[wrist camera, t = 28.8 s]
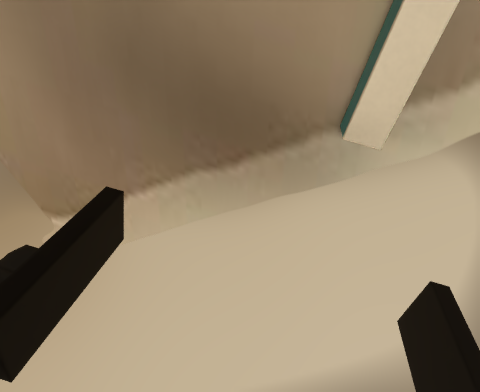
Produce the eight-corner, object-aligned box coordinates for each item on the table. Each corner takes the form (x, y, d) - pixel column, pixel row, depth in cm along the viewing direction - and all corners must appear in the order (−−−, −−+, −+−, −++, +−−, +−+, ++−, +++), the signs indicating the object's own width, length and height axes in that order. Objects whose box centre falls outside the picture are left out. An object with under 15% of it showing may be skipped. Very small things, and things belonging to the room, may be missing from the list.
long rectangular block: (374, 136, 39) (380, 150, 35) (339, 126, 39) (342, 139, 35) (489, -96, 27) (519, -113, 23) (440, -109, 27) (461, -128, 23)
